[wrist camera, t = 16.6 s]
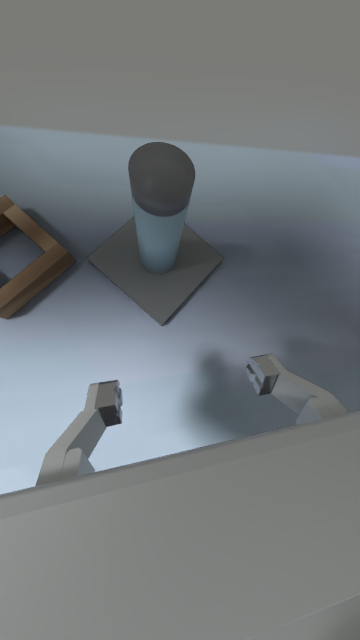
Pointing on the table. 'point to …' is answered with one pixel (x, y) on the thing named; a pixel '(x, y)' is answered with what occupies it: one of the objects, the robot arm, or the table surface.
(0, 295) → the walnut dock
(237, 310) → the table surface
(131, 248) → the grey mat
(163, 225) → the cylinder
